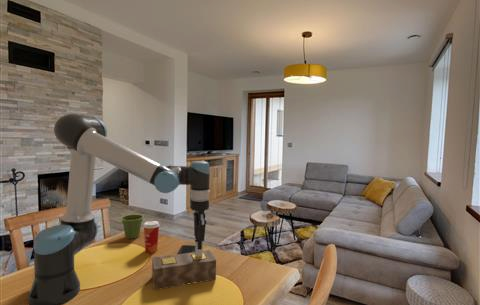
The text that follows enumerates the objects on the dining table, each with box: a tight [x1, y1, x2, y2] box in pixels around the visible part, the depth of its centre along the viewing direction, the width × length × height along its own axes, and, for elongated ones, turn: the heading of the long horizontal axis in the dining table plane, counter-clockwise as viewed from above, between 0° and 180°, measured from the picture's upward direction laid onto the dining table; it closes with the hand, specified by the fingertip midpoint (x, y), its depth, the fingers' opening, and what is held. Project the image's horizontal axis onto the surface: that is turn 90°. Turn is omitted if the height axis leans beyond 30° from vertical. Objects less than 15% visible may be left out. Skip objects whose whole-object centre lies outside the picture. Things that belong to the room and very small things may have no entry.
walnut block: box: [151, 249, 217, 291], centre depth 109 cm, size 24×10×8 cm, turn 111°
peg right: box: [192, 253, 206, 261], centre depth 112 cm, size 5×5×7 cm
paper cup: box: [142, 220, 160, 254], centre depth 134 cm, size 8×8×14 cm
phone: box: [177, 244, 195, 254], centre depth 133 cm, size 8×1×15 cm
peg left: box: [162, 257, 176, 265], centre depth 107 cm, size 5×5×7 cm
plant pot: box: [120, 213, 145, 240], centre depth 151 cm, size 12×12×11 cm
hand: (198, 255), depth 111 cm, fingers closed
